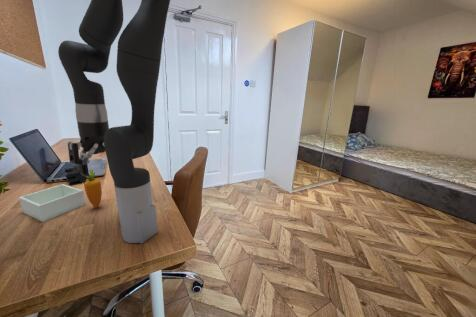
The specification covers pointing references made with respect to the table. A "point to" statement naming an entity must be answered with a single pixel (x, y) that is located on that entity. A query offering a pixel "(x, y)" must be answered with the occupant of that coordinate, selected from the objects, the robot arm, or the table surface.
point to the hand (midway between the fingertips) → (100, 171)
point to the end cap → (74, 176)
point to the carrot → (93, 189)
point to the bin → (52, 202)
